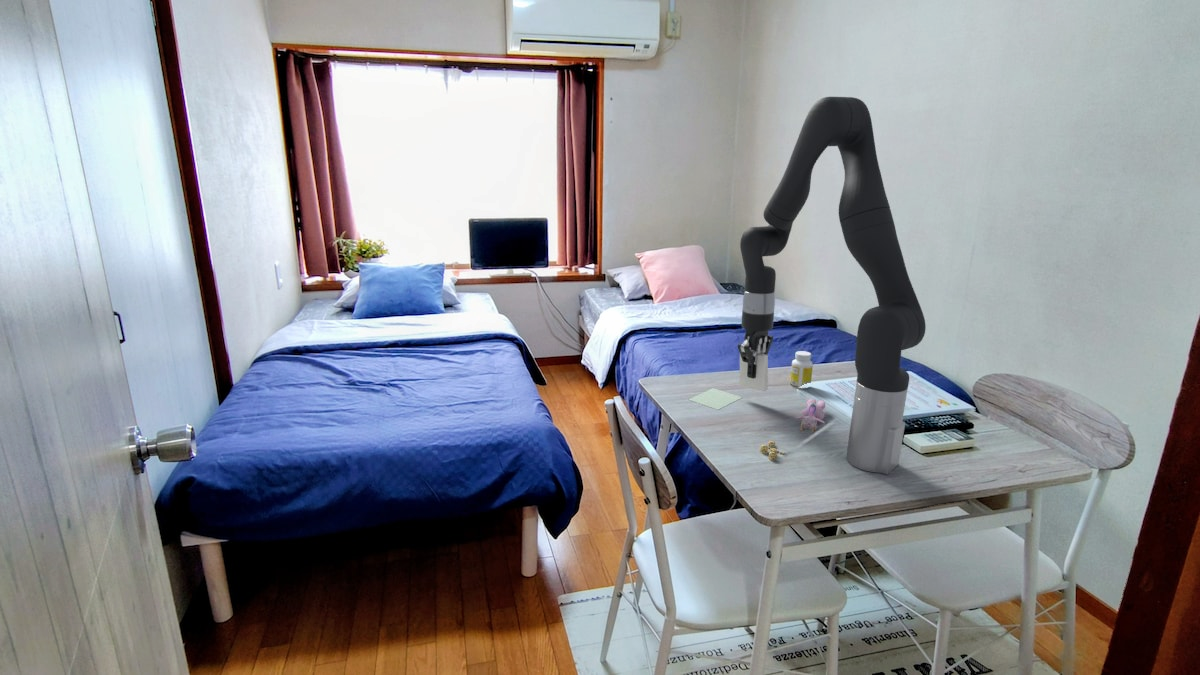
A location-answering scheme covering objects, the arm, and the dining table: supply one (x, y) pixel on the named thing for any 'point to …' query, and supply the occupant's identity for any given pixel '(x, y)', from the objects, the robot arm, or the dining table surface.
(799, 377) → the supplement bottle
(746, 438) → the dining table surface
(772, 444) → the yellow speckled pebbles
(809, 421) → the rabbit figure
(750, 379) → the tile
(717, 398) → the mat
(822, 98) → the robot arm
